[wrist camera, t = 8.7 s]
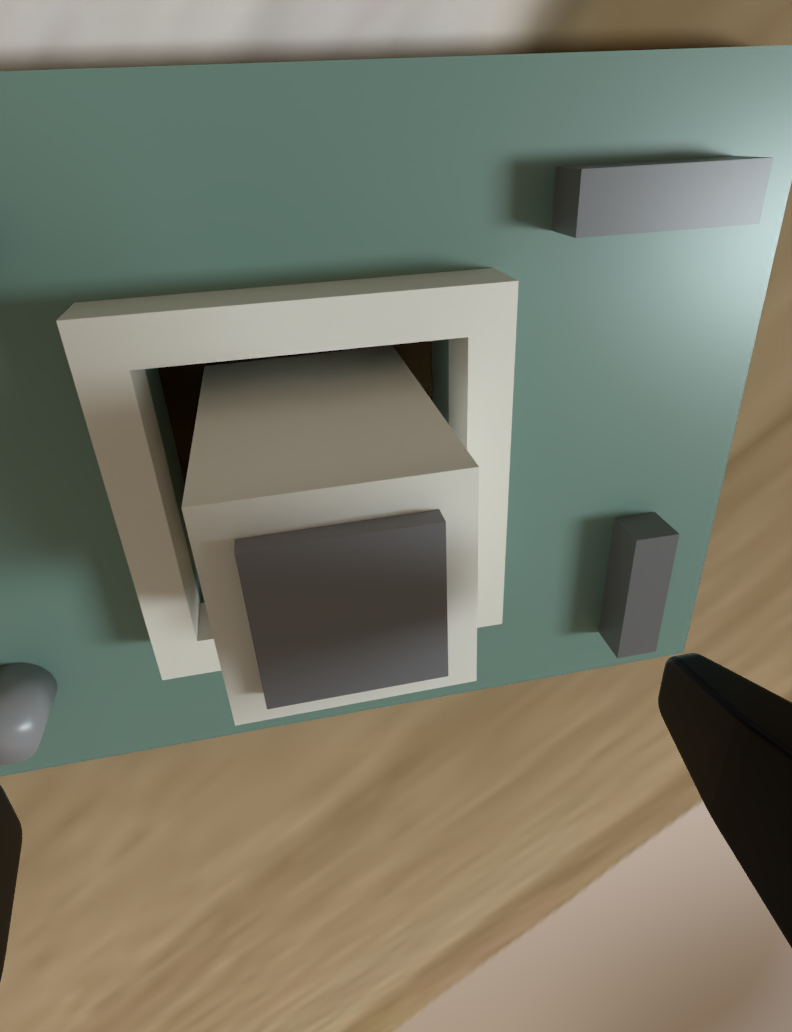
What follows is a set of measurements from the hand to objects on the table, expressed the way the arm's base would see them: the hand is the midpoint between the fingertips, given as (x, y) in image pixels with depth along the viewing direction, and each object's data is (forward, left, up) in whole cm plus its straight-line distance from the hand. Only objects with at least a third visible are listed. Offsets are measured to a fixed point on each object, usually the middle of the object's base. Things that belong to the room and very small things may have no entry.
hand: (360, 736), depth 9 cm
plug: (0, 0, -10) cm, 10 cm away
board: (0, 0, -10) cm, 10 cm away
